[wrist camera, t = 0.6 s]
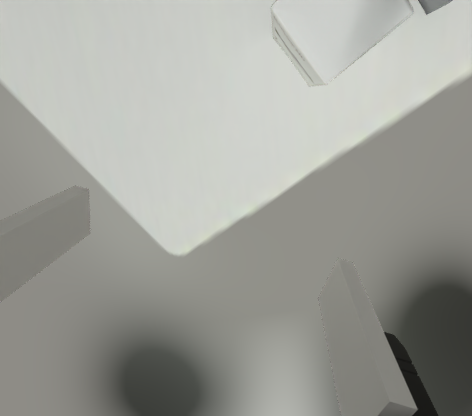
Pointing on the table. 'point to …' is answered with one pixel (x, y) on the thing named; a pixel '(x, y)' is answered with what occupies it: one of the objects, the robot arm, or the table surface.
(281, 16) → the supplement box
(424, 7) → the box
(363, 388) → the robot arm
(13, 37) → the table surface
